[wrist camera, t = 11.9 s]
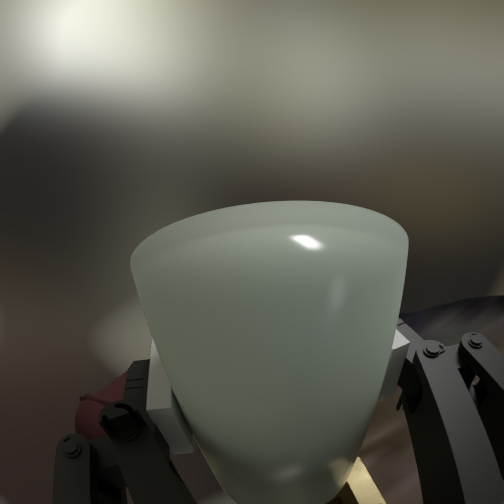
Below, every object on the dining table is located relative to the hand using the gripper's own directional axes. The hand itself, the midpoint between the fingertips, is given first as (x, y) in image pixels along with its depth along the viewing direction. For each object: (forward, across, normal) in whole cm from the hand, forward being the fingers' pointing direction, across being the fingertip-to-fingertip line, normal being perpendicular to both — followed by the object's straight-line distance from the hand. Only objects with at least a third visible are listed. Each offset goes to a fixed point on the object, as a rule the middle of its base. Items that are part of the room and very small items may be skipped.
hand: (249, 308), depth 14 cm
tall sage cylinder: (-5, 0, -7) cm, 8 cm away
